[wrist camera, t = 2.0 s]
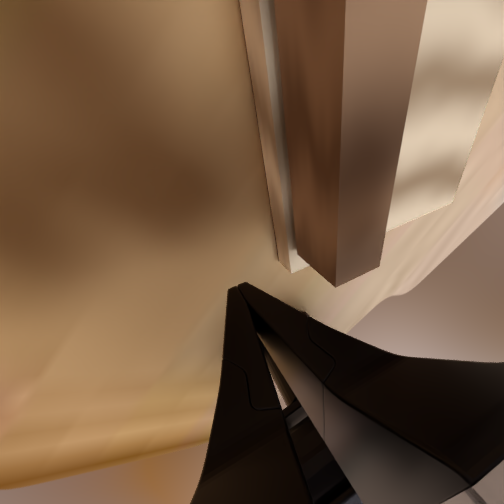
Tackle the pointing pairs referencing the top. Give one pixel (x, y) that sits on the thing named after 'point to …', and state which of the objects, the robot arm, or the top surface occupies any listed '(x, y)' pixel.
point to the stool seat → (418, 115)
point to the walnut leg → (345, 122)
